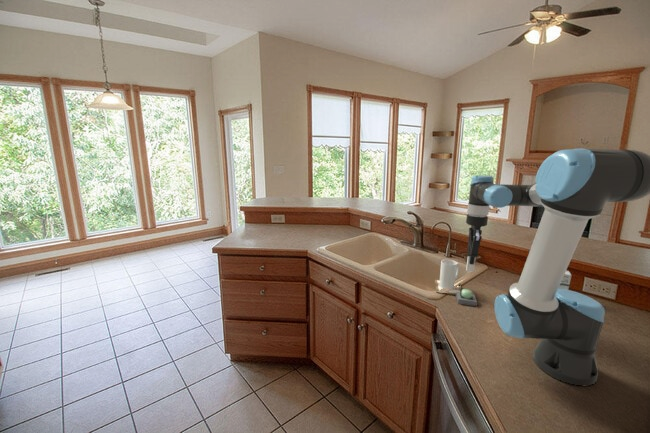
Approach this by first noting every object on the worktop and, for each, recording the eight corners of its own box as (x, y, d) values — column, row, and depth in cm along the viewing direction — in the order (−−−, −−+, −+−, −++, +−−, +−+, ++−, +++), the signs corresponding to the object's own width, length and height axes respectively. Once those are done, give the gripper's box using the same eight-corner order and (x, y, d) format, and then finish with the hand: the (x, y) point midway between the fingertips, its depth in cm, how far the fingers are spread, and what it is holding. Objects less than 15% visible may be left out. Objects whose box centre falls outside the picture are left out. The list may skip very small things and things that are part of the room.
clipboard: (463, 296, 131) (463, 293, 131) (436, 292, 134) (436, 290, 134) (459, 283, 144) (459, 281, 143) (434, 280, 147) (435, 278, 146)
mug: (446, 291, 134) (449, 265, 132) (435, 285, 140) (437, 260, 138) (463, 287, 138) (466, 262, 136) (451, 281, 144) (454, 257, 142)
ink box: (542, 295, 134) (547, 270, 131) (540, 290, 138) (545, 266, 135) (566, 300, 130) (572, 274, 127) (564, 295, 134) (569, 270, 131)
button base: (476, 306, 124) (477, 301, 123) (457, 303, 126) (458, 299, 125) (473, 298, 130) (473, 293, 130) (455, 295, 132) (456, 291, 132)
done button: (472, 300, 125) (473, 294, 125) (461, 298, 126) (462, 292, 126) (470, 295, 129) (471, 289, 128) (460, 294, 130) (461, 288, 129)
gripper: (491, 219, 112) (483, 278, 118) (484, 212, 124) (476, 265, 130) (469, 217, 114) (462, 275, 120) (464, 210, 126) (458, 263, 132)
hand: (469, 270), depth 125 cm, fingers closed
